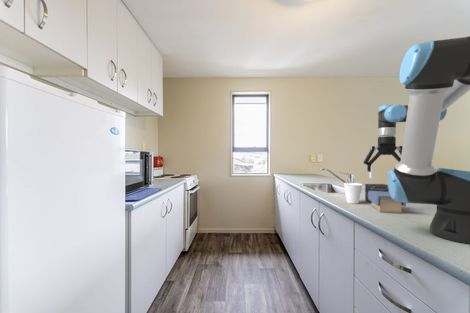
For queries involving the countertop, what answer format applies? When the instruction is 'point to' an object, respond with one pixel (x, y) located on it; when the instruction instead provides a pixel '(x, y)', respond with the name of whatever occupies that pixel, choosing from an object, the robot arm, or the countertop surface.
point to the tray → (388, 206)
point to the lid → (379, 196)
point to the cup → (352, 192)
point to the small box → (374, 189)
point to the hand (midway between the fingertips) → (385, 178)
